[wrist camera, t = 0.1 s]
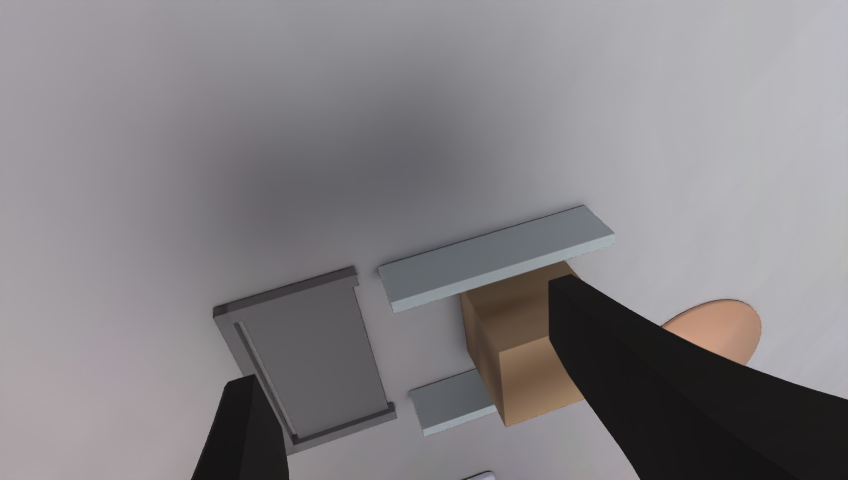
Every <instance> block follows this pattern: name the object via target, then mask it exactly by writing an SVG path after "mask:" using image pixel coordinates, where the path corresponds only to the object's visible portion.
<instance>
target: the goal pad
mask: <svg viewBox="0 0 848 480" xmlns="http://www.w3.org/2000/svg"><path fill="white" fill-rule="evenodd" d="M662 328H664V329H666V330H668V331H670V332H672V333H674V334H676V335H678V336H680V337H682V338H684V339H686V340H688V341H690V342H692V343H694V344H696V345H698V346H700V347H702V348H704V349H707V350H709V351H711V352H713V353H716V354H718V355H720V356H723V357H725V358H727V359H730V360H732V361H734V362H737V363H739V364H742V365H744V366H745V365H746V364H747V362H748V361H749V360H750V358H751V356H752V355H753V353H754V351H755V349H756V347H757V345H758V342H759V340H760V336H761V328H762V327H761V320H760V317H759V315H758V314H757V312H756V311H755V310H754V309H752V308H751V307H750V306H749V305H747V304H745V303H744V302H741V301H737V300H718V301H713V302H709V303H705V304H702V305H699V306H697V307H694V308H692V309H690V310H688V311H685V312H683V313H682V314H680V315H678V316H676V317H675V318H673V319H671V320H670V321H669V322H667V323H666V324H664V325H663V326H662Z"/></svg>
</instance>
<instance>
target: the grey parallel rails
mask: <svg viewBox="0 0 848 480" xmlns="http://www.w3.org/2000/svg"><path fill="white" fill-rule="evenodd" d="M614 238H615V233H614V232H613V231H612V230H611V229H610V228H609V227H607V226H606V225H605V224H604V223H603V222H602V221H601V220H600V219H599V218H598V217H597V216H596V215H594V214H593V213H592V212H591V211H590V210H589V209H588V208H587V207H586V206H585V205H584V206H580V207H577V208H574V209H570V210H567V211H564V212H560V213H557V214H554V215H550V216H547V217H544V218H540V219H537V220H534V221H530V222H527V223H524V224H520V225H517V226H513V227H510V228H507V229H503V230H500V231H497V232H493V233H490V234H487V235H483V236H480V237H477V238H473V239H470V240H467V241H463V242H460V243H457V244H453V245H450V246H446V247H443V248H440V249H436V250H433V251H430V252H426V253H423V254H420V255H416V256H413V257H410V258H406V259H403V260H400V261H396V262H393V263H390V264H386V265H383V266H379V267H378V270H379V274H380V278H381V280H382V283H383V286H384V288H385V291H386V294H387V297H388V299H389V302H390V305H391V307H392V310H393V313H397V312H400V311H403V310H407V309H410V308H413V307H416V306H419V305H423V304H426V303H429V302H432V301H435V300H439V299H442V298H445V297H448V296H451V295H454V294H458V293H461V292H464V291H467V290H470V289H474V288H477V287H480V286H483V285H486V284H490V283H493V282H496V281H499V280H502V279H506V278H509V277H512V276H515V275H518V274H522V273H525V272H528V271H531V270H534V269H537V268H541V267H544V266H547V265H550V264H553V263H557V262H560V261H563V260H566V259H569V258H573V257H576V256H579V255H582V254H585V253H589V252H592V251H595V250H598V249H601V248H605V247H608V246H611V245H614ZM409 392H410V396H411V400H412V402H413V405H414V408H415V411H416V414H417V417H418V420H419V423H420V426H421V429H422V432H423V435H424V437H425V436H428V435H431V434H434V433H437V432H440V431H443V430H445V429H448V428H451V427H454V426H457V425H460V424H462V423H465V422H468V421H471V420H474V419H477V418H479V417H482V416H485V415H488V414H491V413H494V412H497V409H496V407H495V405H494V403H493V401H492V399H491V397H490V394H489V392H488V390H487V388H486V386H485V384H484V382H483V380H482V378H481V376H480V374H479V372H478V370H477V369H475V370H472V371H469V372H466V373H463V374H460V375H457V376H454V377H451V378H448V379H445V380H442V381H439V382H436V383H433V384H430V385H427V386H424V387H421V388H418V389H415V390H412V391H409Z"/></svg>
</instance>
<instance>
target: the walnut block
mask: <svg viewBox="0 0 848 480" xmlns="http://www.w3.org/2000/svg"><path fill="white" fill-rule="evenodd" d="M568 274H572V275H574V276H576V277H577V278H579V277H578V276H577V274H576V273H575V272H574V271H573V270H572V269H571V268H570V266H569V265H568V264H567V263H566V262H565V261H564V260H563V261H560V262H557V263H553V264H550V265H547V266H544V267H541V268H537V269H534V270H531V271H528V272H525V273H522V274H518V275H515V276H512V277H509V278H506V279H502V280H499V281H496V282H493V283H490V284H486V285H483V286H480V287H477V288H474V289H470V290H467V291H464V292H461V293H460V299H461V306H462V313H463V320H464V327H465V334H466V341H467V348H468V352H469V354H470V356H471V358H472V360H473V362H474V364H475V366H476V368H477V370H478V372H479V374H480V376H481V378H482V380H483V382H484V384H485V386H486V388H487V390H488V392H489V394H490V397H491V399H492V401H493V403H494V405H495V407H496V409H497V411H498V413H499V415H500V417H501V419H502V421H503V423H504V425H505V427H508V426H511V425H514V424H517V423H519V422H522V421H525V420H528V419H530V418H533V417H536V416H539V415H542V414H544V413H547V412H550V411H553V410H556V409H558V408H561V407H564V406H567V405H569V404H572V403H575V402H578V401H581V400H583V399H585V398H584V397H583V395H582V394H581V392H580V391H579V389H578V388H577V387H576V385H575V384H574V382H573V381H572V380H571V378H570V377H569V375H568V374H567V372H566V370H565V368H564V367H563V365H562V363H561V361H560V359H559V358H558V356H557V354H556V352H555V350H554V348H553V346H552V344H551V342H550V340H549V310H548V281H549V280H552V279H555V278H559V277H562V276H565V275H568ZM579 279H580V278H579Z"/></svg>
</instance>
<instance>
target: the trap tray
mask: <svg viewBox="0 0 848 480" xmlns="http://www.w3.org/2000/svg"><path fill="white" fill-rule="evenodd" d="M355 286H359V283H358V279H357V276H356V272H355V269H354V267H350V268H347V269H344V270H340V271H337V272H333V273H330V274H327V275H323V276H320V277H317V278H313V279H310V280H306V281H303V282H300V283H296V284H293V285H290V286H286V287H283V288H279V289H276V290H273V291H269V292H266V293H263V294H259V295H256V296H252V297H249V298H246V299H242V300H239V301H236V302H232V303H229V304H225V305H222V306H219V307H215V308H213V319H214V321H215V322H216V324H217V326H218V328H219V330H220V332H221V334H222V336H223V338H224V340H225V342H226V343H227V345H228V347H229V349H230V351H231V353H232V355H233V357H234V359H235V361H236V362H237V364H238V366H239V368H240V370H241V372H242V374H243V376H244V377H245V376H248V375H252V374H255V375H256V377H257V379H258V381H259V383H260V385H261V387H262V389H263V391H264V393H265V395H266V397H267V399H268V401H269V403H270V405H271V407H272V409H273V411H274V413H275V415H276V417H277V419H278V421H279V423H280V425H281V427H282V430H283V436H284V443H285V449H286V456H288V455H291V454H294V453H297V452H300V451H303V450H306V449H309V448H312V447H315V446H317V445H320V444H323V443H326V442H329V441H332V440H335V439H338V438H341V437H344V436H347V435H349V434H352V433H355V432H358V431H361V430H364V429H367V428H370V427H373V426H376V425H379V424H381V423H384V422H387V421H390V420H393V419H396V418H397V415H396V412H395V408H394V405H393V402H392V403H389V404H387V401H386V398H385V395H384V391H383V388H382V385H381V381H380V378H379V375H378V371H377V368H376V364H375V361H374V358H373V354H372V351H371V348H370V344H369V341H368V338H367V334H366V331H365V328H364V324H363V321H362V317H361V314H360V311H359V307H358V304H357V301H356V297H355V294H354V291H353V287H355ZM239 321H243V324H244V326H245V328H246V330H247V332H248V334H249V336H250V338H251V340H252V342H253V344H254V346H255V348H256V350H257V353H258V355H259V357H260V359H261V361H262V363H263V365H264V367H265V369H266V371H267V373H268V375H269V377H270V379H271V382H272V384H273V386H274V388H275V390H276V392H277V394H278V396H279V398H280V400H281V402H282V404H283V406H284V408H285V411H286V413H287V415H288V417H289V419H290V421H291V423H292V425H293V427H294V429H295V431H296V433H297V435H295V436H293V435H292V433H291V431H290V429H289V427H288V425H287V423H286V421H285V419H284V417H283V415H282V413H281V411H280V409H279V407H278V405H277V403H276V401H275V399H274V397H273V394H272V392H271V390H270V388H269V386H268V384H267V382H266V380H265V378H264V376H263V374H262V372H261V370H260V368H259V366H258V364H257V362H256V360H255V358H254V356H253V354H252V352H251V350H250V348H249V346H248V344H247V342H246V340H245V338H244V335H243V333H242V331H241V329H240V327H239V325H238V323H237V322H239Z"/></svg>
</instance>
